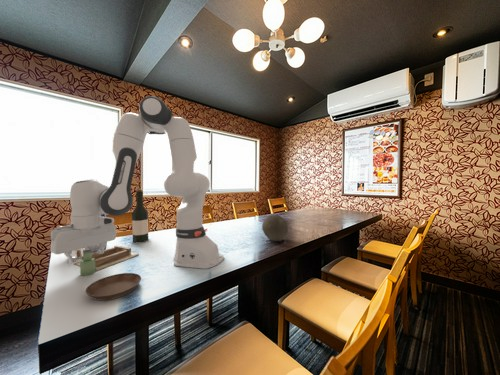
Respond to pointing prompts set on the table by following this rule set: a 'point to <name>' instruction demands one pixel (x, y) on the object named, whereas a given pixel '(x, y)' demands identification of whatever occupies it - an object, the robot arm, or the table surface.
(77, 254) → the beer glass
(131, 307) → the table surface
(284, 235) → the cantaloupe
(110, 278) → the saucer
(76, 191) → the robot arm
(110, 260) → the cradle
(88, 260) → the bottle
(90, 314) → the table surface
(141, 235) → the wine bottle
